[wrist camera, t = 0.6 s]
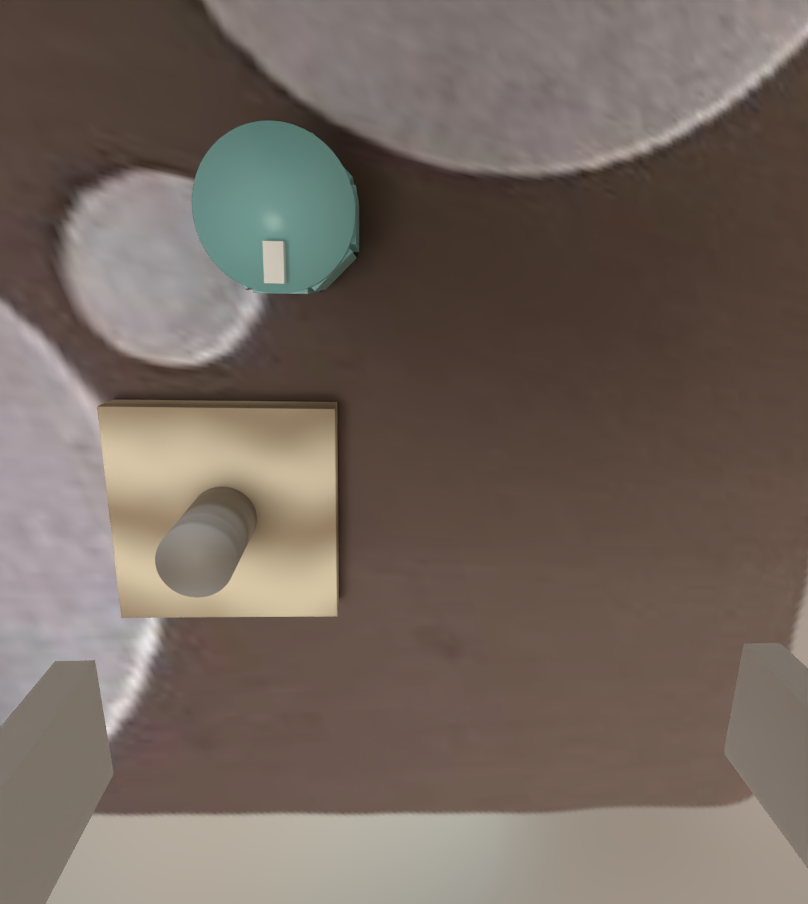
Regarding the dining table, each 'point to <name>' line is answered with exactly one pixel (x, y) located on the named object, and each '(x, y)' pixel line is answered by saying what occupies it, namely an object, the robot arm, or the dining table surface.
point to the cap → (276, 209)
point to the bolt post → (223, 507)
